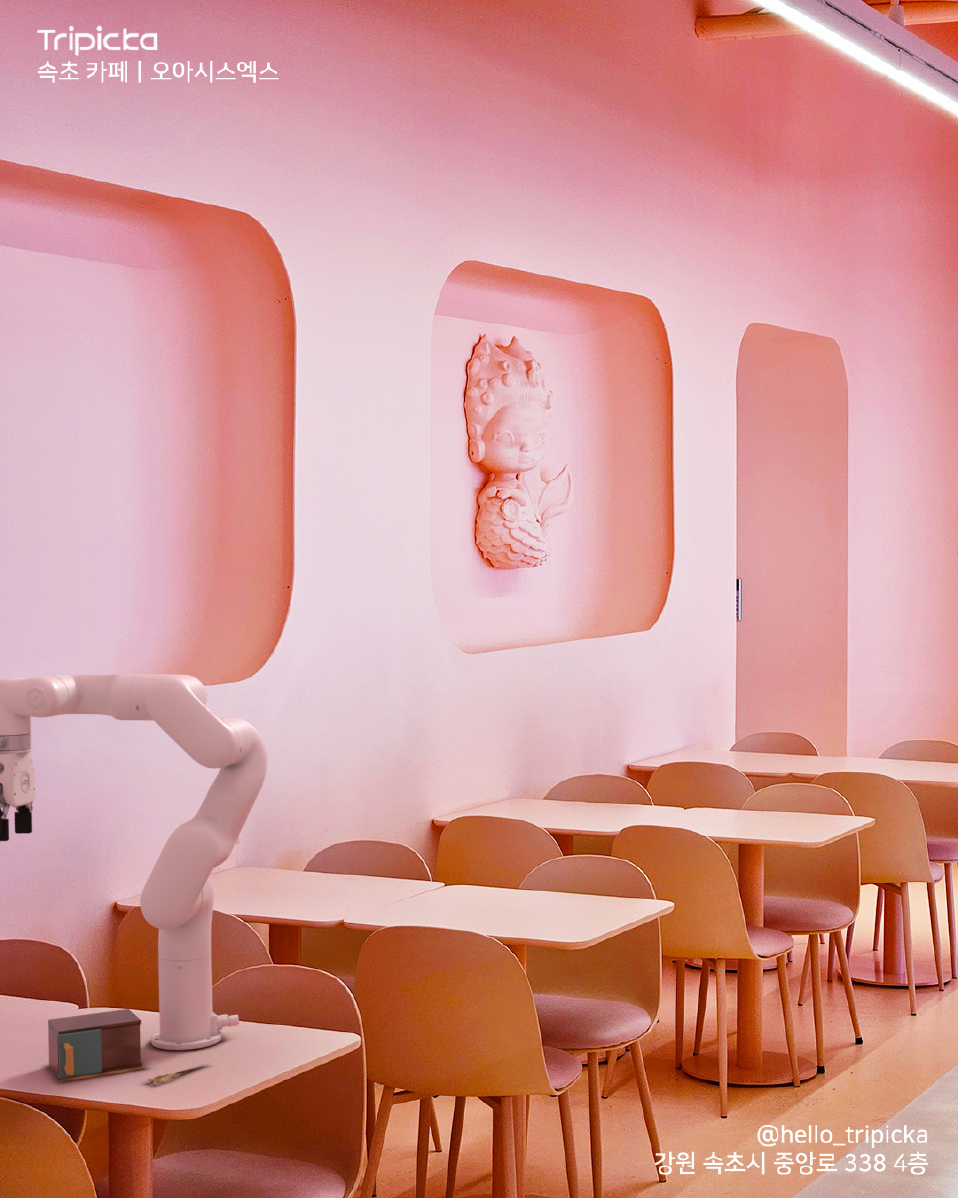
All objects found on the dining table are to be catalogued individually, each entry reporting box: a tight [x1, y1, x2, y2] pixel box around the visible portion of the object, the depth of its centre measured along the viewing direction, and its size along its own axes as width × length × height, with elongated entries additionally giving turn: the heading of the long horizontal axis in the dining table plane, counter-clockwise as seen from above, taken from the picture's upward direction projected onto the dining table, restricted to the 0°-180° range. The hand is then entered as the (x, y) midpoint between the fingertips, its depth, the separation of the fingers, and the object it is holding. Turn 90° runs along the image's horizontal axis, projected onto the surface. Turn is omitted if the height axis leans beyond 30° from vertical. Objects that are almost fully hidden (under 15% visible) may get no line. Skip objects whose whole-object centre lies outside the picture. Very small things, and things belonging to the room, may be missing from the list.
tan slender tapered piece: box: [147, 1066, 205, 1085], centre depth 257 cm, size 12×3×1 cm, turn 141°
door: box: [58, 1029, 102, 1080], centre depth 256 cm, size 7×4×7 cm, turn 116°
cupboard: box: [47, 1008, 146, 1083], centre depth 263 cm, size 14×11×8 cm
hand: (12, 837), depth 283 cm, fingers open, 9 cm apart
